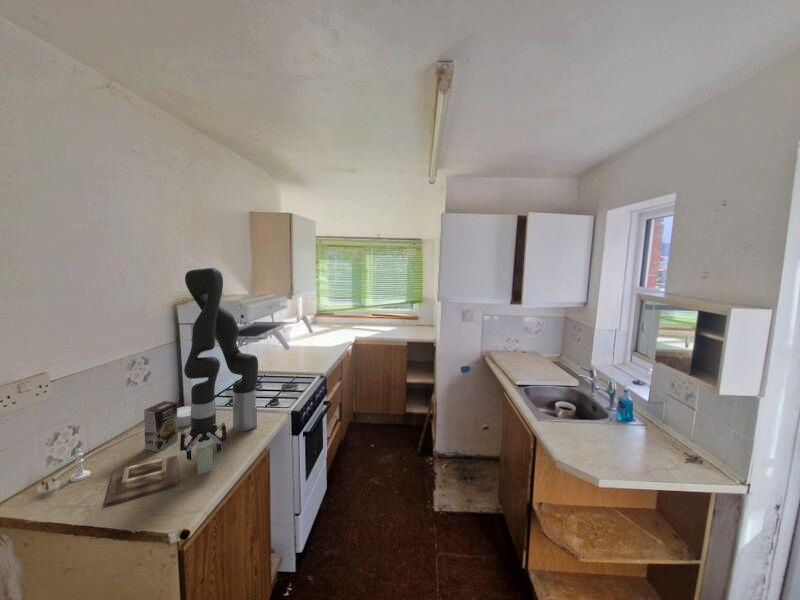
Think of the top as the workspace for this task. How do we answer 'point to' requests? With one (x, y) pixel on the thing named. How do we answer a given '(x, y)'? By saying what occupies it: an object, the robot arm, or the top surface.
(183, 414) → the ramekin
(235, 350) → the robot arm
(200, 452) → the key block
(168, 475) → the board
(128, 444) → the top surface
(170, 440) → the coffee box
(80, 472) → the chess piece
